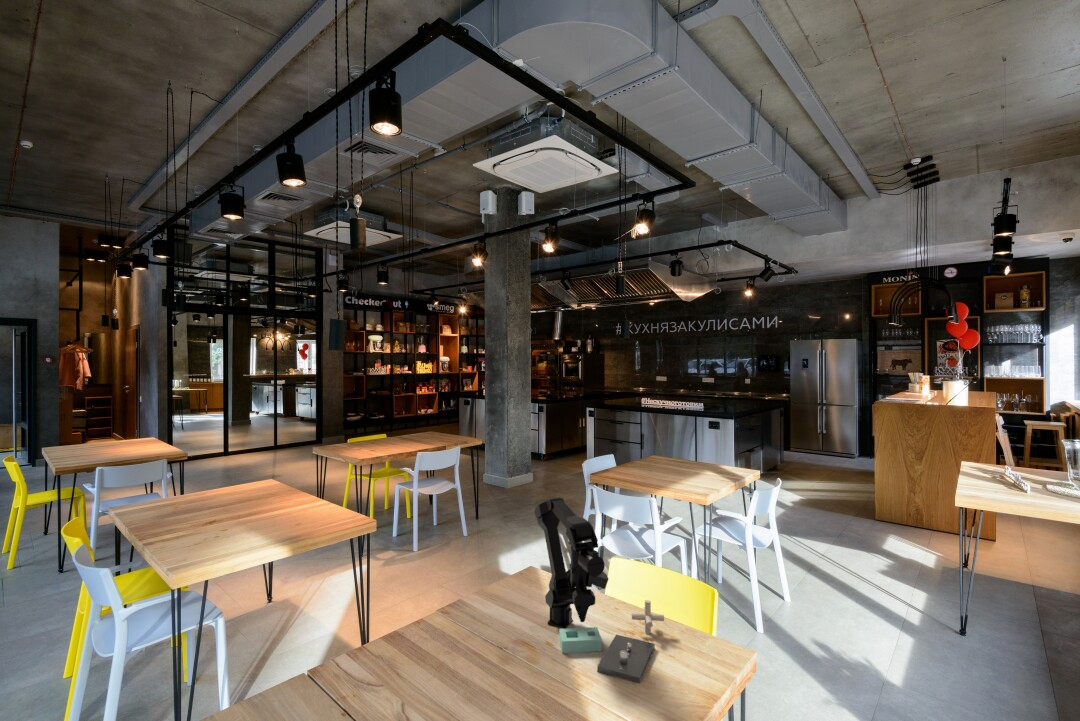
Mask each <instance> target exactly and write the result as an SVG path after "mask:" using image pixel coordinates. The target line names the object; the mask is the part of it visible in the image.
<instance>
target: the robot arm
mask: <svg viewBox="0 0 1080 721" xmlns="http://www.w3.org/2000/svg"><path fill="white" fill-rule="evenodd" d="M534 514H535V518H536V520H537V524H538V525H539V527H540V528H541V529H542V530H543V534H544V538H545V543H546V548H547V549H546V550H547V555H548V560H549V566H550V572H551V577H550V580H549V583H548V592H546V594H545V595H544V598H545V604H546V605H547V606H548V607H549V620H548V621H547V625H550V626H554V627H559V628H561V629H567V627H568V625H570V623H571V622H572V620H573V615H572V614H573V613H572V612H573V610H572V608H571V605H574V608H575V610H576V613H577V616H578V617H579V621H580V623H585V620H586V617H587V614H588V610H589V608H590V607H592V606H594V605H596V596H595V593H594V591H592V589H590V588H592V587H593V586H595V587H599V588H601V589H603V590H605V589H606V587H607V585H608V582H609V577H608V575H607V573H606V572H605V567H606V565H605V561H604V559H603V558H602V557H601V556H599V551H597V550H595V548H599V543H598V538H597V535H596V532H595V529H594V528H593V525H592V523H591V522H590V521H588V519H586V518H584V517H580V516H577V515H576V514H575V513H574V511H573V510H572V509H571V508H570V507H569V506H568V505H567V503H566V502H565V500H564V498H563V497H561V496H560V497H558V496H557V497H552V498H548V499H547V500H546V501H544V502H542V503H539V504H538V505H537V506H536V507H535V508H534ZM560 523H562V525H563V526H564V527H565V528H566V529H565V534H566V536H567V539H568V542H567V543H568V545H570V563H569V569H568V570H567V571H566V566H565V562H564V561H565V560H564V556H563V550H562V544H561V540H560V534H559V528H558V527H559V525H560Z"/></svg>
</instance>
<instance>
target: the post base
mask: <svg viewBox="0 0 1080 721" xmlns="http://www.w3.org/2000/svg"><path fill="white" fill-rule="evenodd" d="M655 645H656V644H655V643H653V642H649V641H645V640H640V639H637V638H633V637H628V636H624V635H620V634H615V636H614V638H613V639H612V641H611V642H610V644H609V646H608V648H607V650H606V651H605V653H604V654H603V656H602V657H601V659H600V661H599V662H598V664H597V667H596V668H597V669H596V670H597V673H601V674H604V675H607V676H608V675H609V676H612V677H616V678H619V679H623V680H626V681H629V682H633V683H638V684H640V683H641V682H642V678H643V677H644V674H645V672H646V670H647V667H648V665H649V664H650V660H651V658H652V655H653V653H654V651H655V649H656V648H655V647H656V646H655Z"/></svg>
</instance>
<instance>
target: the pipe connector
mask: <svg viewBox="0 0 1080 721" xmlns="http://www.w3.org/2000/svg"><path fill="white" fill-rule="evenodd" d="M651 604H652V602H651V600H648V599H647V600H644V607H643V613H637V612H634V613H633V612H631V620H633V621H635V620H636V621H644V633H645V634H646V635H650V634H651V633H652V632H651V631H652V630H651V629H652V628H653V626H654V625H653V621H656V622H657V621H659V622H664V621H665V615H664V614H658V613H656V614H655V613H652V612H651V611H652V610H651V608H652V607H651V606H652V605H651Z"/></svg>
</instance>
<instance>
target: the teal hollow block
mask: <svg viewBox="0 0 1080 721" xmlns="http://www.w3.org/2000/svg"><path fill="white" fill-rule="evenodd" d="M558 630H559V631H558V632H559V633H558V636H559V638H558V640H559V644H560V650H561V653H562V654H570V653H590V652H591V653H592V652H603V650H602V649H603V647H602V646H603V645H602V644H603V639H602V636H601V634H600V631H599V628H598V626H594V627H593V626H592V627H571V628H567V627H566V628H559V629H558Z"/></svg>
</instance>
